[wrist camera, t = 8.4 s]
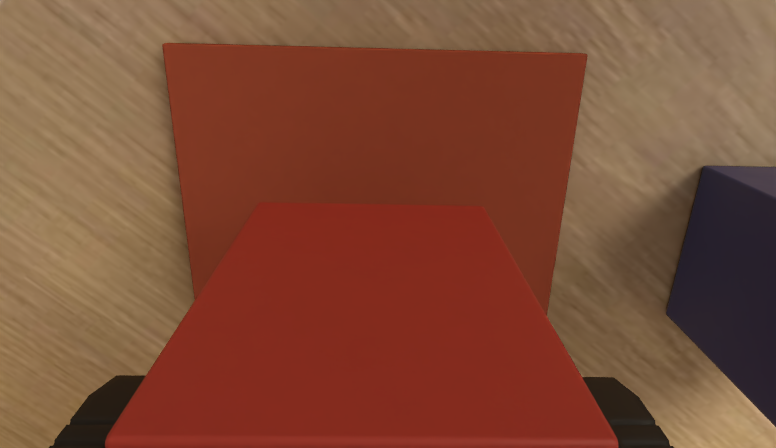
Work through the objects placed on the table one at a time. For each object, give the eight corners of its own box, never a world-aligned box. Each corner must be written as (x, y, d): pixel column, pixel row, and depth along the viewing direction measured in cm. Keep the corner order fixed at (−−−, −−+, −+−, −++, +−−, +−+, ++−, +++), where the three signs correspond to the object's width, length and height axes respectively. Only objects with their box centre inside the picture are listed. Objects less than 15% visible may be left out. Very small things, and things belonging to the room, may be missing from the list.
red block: (257, 200, 11) (100, 439, 5) (483, 204, 12) (624, 442, 5) (270, 387, 13) (167, 742, 7) (466, 388, 13) (551, 738, 7)
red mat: (167, 42, 14) (161, 43, 13) (582, 53, 14) (588, 54, 14) (209, 385, 18) (205, 393, 17) (531, 388, 18) (534, 396, 18)
